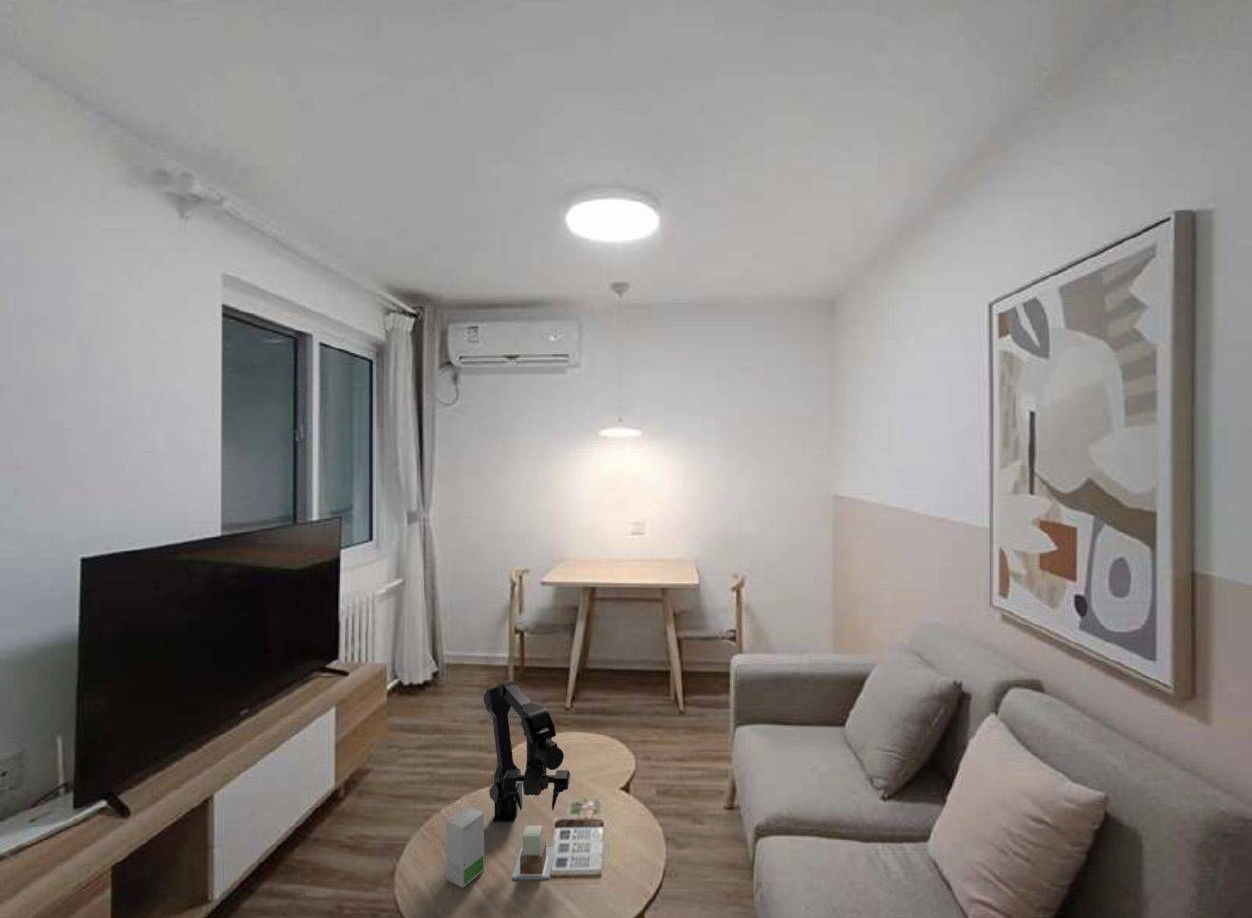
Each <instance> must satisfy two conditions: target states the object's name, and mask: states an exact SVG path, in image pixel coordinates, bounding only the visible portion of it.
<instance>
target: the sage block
mask: <svg viewBox="0 0 1252 918" xmlns="http://www.w3.org/2000/svg"><path fill="white" fill-rule="evenodd" d="M543 831H544V829H543V825H525V828H524V832H523V835H522V847H523V855H540V853H541V849H542V845H543V842H544V841H543V839H544V838H543V837H544V835H543V833H544V832H543Z"/></svg>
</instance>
